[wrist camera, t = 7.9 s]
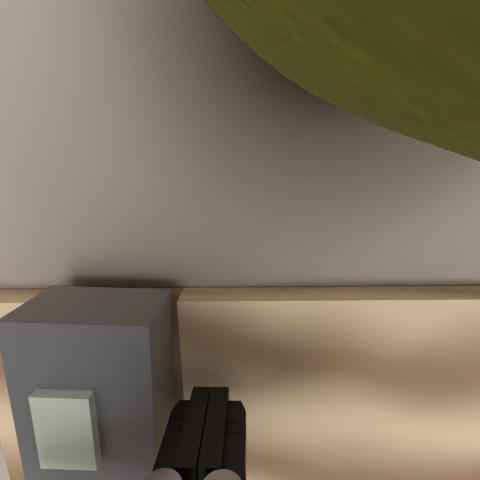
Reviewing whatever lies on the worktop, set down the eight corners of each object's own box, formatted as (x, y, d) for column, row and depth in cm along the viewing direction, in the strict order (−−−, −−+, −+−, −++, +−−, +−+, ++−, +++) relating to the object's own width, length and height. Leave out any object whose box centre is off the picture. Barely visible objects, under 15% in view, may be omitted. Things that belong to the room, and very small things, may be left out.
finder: (51, 286, 13) (-16, 328, 10) (170, 289, 13) (144, 333, 10) (72, 440, 15) (23, 520, 12) (175, 444, 15) (155, 525, 12)
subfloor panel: (-7, 289, 15) (-34, 303, 13) (555, 284, 14) (590, 298, 13) (55, 561, 19) (39, 595, 18) (484, 565, 19) (504, 599, 17)
